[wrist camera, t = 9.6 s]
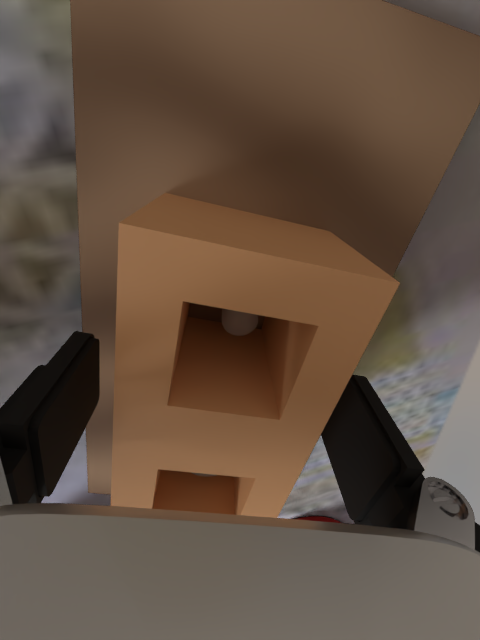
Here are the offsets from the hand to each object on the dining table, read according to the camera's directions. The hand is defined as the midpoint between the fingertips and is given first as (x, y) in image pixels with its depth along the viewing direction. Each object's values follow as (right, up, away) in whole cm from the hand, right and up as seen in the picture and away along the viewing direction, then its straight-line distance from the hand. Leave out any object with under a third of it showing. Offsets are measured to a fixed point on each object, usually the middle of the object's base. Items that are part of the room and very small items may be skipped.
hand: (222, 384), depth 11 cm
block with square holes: (0, +1, +2) cm, 2 cm away
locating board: (0, +2, +3) cm, 4 cm away
